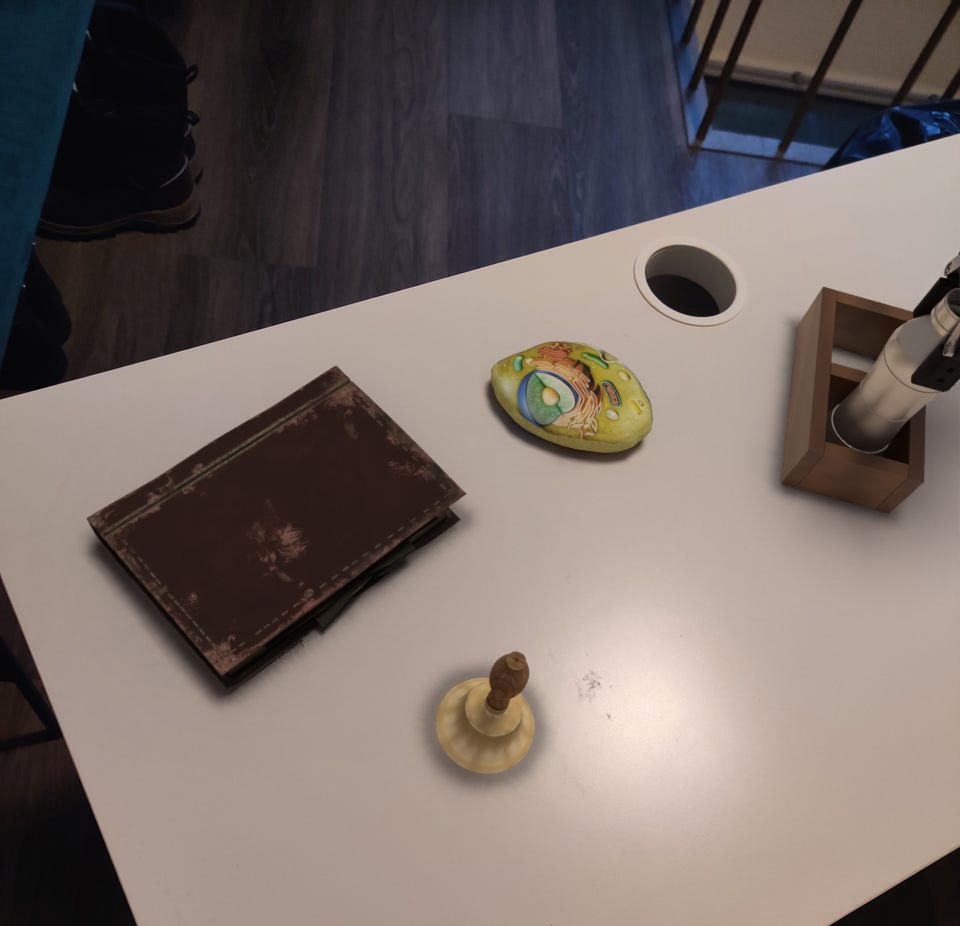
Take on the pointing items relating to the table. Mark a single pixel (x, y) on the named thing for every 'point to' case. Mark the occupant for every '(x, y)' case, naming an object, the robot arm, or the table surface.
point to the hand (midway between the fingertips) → (929, 350)
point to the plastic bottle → (893, 383)
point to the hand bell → (488, 718)
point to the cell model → (574, 396)
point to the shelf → (826, 387)
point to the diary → (278, 524)
